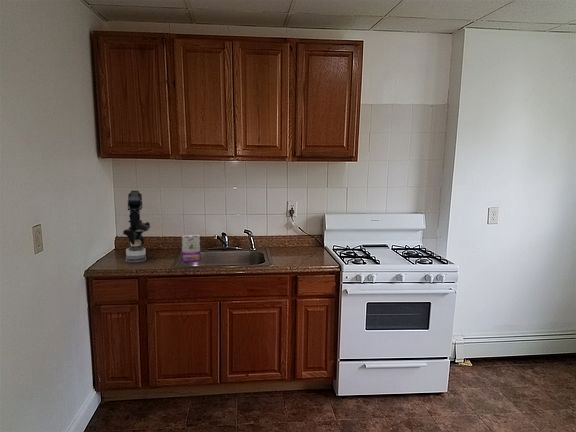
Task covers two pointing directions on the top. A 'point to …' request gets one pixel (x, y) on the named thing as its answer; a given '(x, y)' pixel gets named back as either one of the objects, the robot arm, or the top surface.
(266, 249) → the top surface
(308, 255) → the top surface
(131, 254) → the canister
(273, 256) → the top surface
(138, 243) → the lid
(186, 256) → the candy bar box
